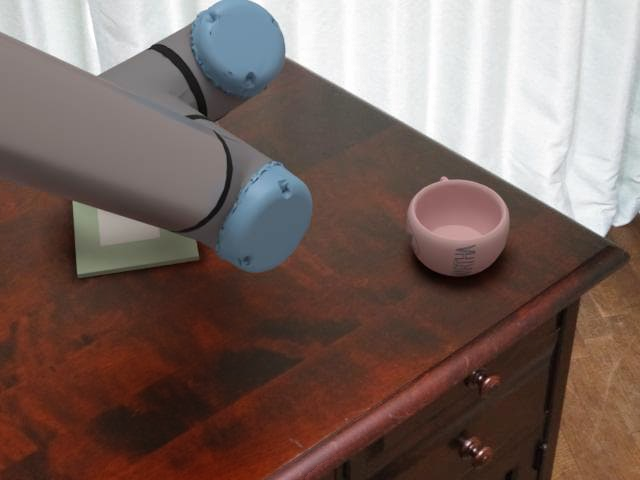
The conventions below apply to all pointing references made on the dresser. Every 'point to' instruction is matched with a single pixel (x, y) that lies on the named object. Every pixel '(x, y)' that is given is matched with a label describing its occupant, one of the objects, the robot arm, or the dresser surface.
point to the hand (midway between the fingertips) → (111, 152)
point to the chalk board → (124, 243)
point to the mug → (457, 226)
